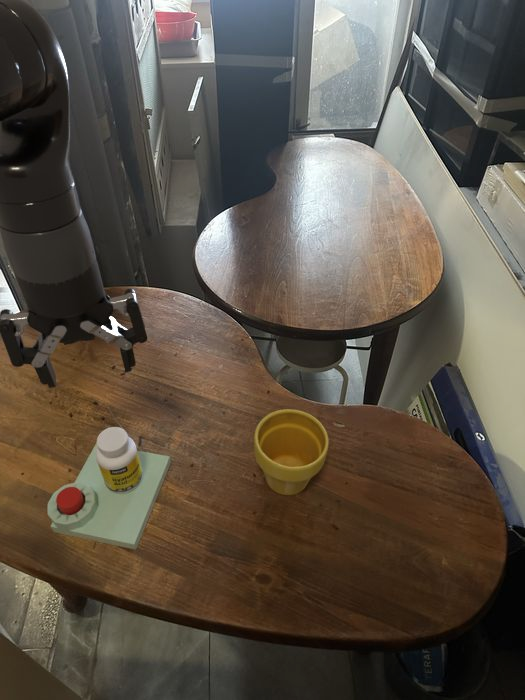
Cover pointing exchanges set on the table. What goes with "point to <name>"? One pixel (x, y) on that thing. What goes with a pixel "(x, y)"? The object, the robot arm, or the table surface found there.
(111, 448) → the supplement bottle
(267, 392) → the table surface
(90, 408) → the table surface
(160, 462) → the pale green flat piece
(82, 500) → the button
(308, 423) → the flower pot
